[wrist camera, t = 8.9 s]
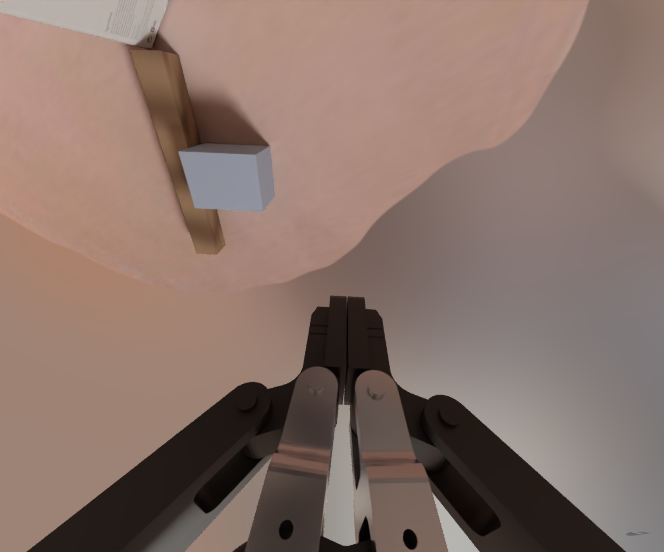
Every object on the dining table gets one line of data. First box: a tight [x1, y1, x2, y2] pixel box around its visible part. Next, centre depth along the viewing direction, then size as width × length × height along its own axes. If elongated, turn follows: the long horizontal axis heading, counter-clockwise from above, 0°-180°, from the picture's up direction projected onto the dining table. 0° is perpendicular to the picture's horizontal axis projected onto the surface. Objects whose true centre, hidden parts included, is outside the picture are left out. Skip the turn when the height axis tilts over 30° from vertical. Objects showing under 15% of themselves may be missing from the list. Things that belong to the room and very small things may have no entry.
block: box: [178, 143, 275, 212], centre depth 30 cm, size 6×8×6 cm
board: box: [130, 50, 225, 255], centre depth 31 cm, size 22×3×3 cm, turn 178°
